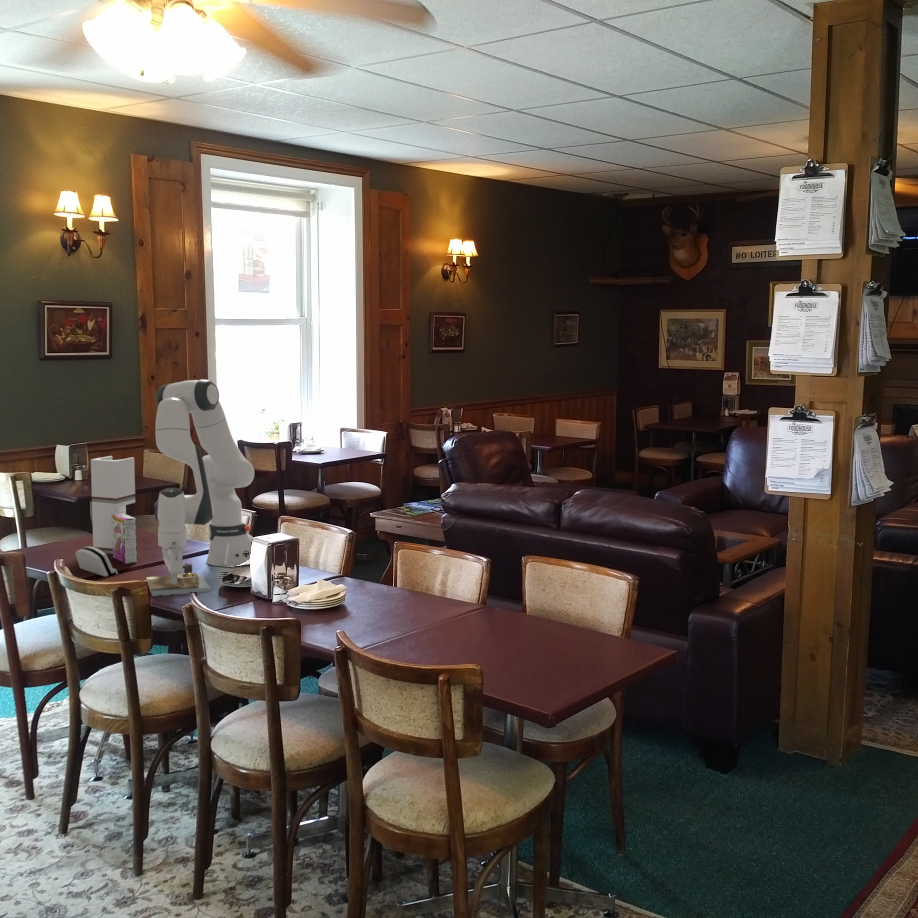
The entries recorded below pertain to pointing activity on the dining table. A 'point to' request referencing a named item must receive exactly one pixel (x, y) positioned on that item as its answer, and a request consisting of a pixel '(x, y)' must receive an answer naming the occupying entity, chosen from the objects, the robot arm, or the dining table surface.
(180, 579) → the link
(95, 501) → the banded white column
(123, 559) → the candy bar box
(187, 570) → the pintle keeper
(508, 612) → the dining table surface
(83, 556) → the white black-striped rounded block
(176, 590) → the board
